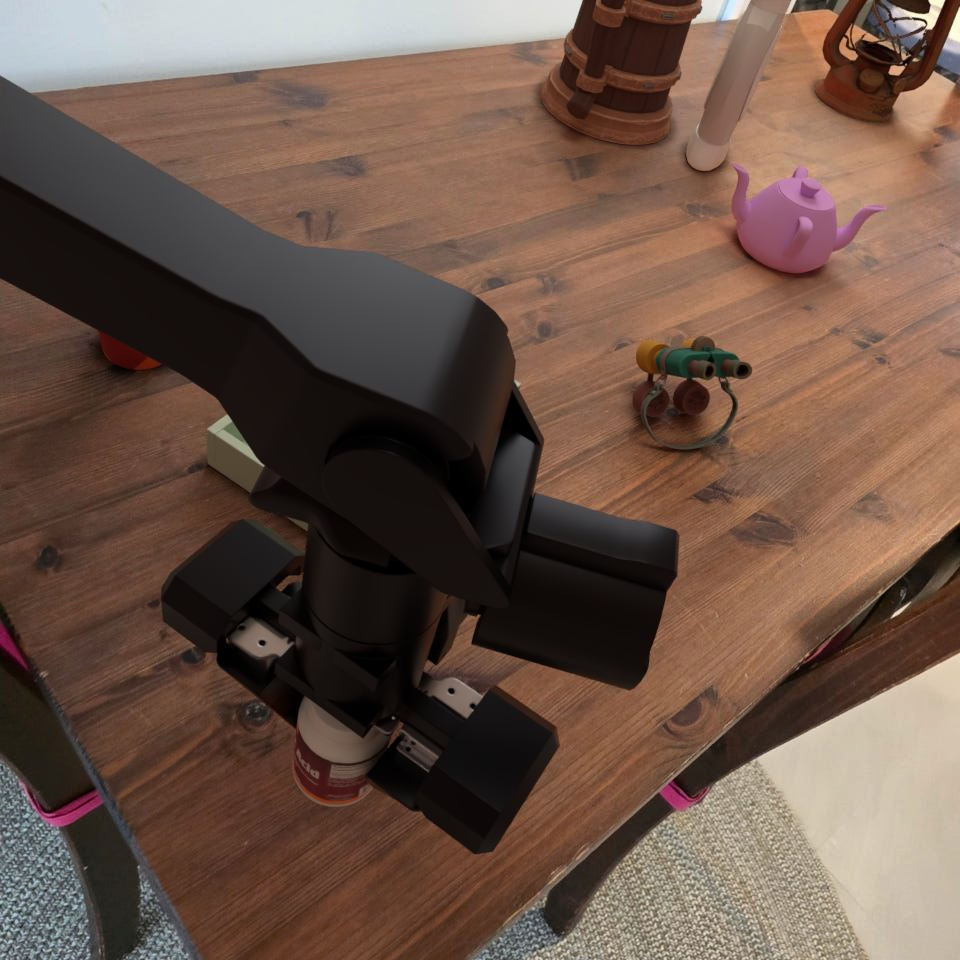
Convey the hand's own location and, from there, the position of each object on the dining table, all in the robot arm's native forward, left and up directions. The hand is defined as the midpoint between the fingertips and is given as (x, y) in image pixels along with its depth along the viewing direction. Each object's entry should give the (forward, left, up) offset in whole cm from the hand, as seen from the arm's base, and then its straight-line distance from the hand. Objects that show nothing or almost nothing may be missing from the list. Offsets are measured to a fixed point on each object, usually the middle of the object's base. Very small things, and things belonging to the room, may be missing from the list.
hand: (340, 750), depth 46 cm
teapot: (0, +83, -7) cm, 83 cm away
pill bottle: (0, 0, -2) cm, 2 cm away
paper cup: (-36, +20, -7) cm, 42 cm away
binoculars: (+2, +46, -7) cm, 47 cm away
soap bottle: (-14, +97, -7) cm, 98 cm away
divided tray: (-16, +25, -7) cm, 31 cm away
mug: (-30, +94, -7) cm, 99 cm away
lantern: (-5, +137, -7) cm, 137 cm away
